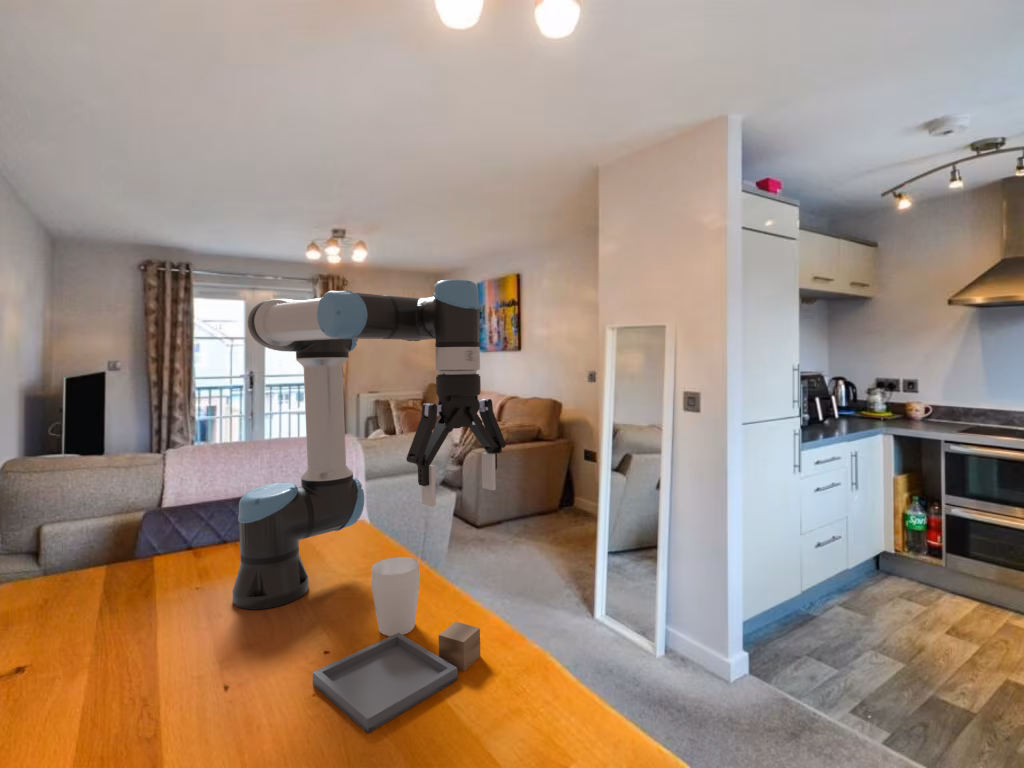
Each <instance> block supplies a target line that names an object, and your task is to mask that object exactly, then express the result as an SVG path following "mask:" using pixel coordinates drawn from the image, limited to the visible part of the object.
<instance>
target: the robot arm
mask: <svg viewBox="0 0 1024 768" xmlns="http://www.w3.org/2000/svg"><path fill="white" fill-rule="evenodd" d="M433 288H434V289H433V294H432V295H433V296H429V297H428V296H427V297H409V296H399V295H397V296H396V295H389V294H388V295H385V294H383V295H382V294H374V293H366V292H365V293H363V292H355V291H351V290H330V291H327V292H325V293H324V294H323V296H322V297H320V298H319V297H318V298H312V299H303V300H302V299H299V300H298V299H289V298H273V299H267V300H263V301H261V302H259V303H257V304H256V305H255V306H254V307H253V308H252V309H251V310H250V312H249V315H248V317H247V328H248V331H249V333H250V335H251V337H252V338H253V340H254V341H256V342H257V343H258V344H259V345H260V346H263V347H264V348H267V349H270V350H273V351H277V352H295V358H296V359H295V360H296V362H298V363H299V365H301V366H302V368H303V381H304V382H303V383H304V384H303V385H304V406H305V407H304V408H305V432H306V434H305V435H306V454H307V455H306V458H307V470H306V471H304V473H302V475H301V477H300V478H301V479H300V481H301V482H300V483H301V485H300V486H297V484H296V483H295V482H294V483H293V482H291V481H290V482H289V481H285V482H284V481H283V482H282V481H281V482H278V483H276V482H275V483H270V484H266V485H262V486H259V487H257V488H254V489H252V490H251V489H250V491H248V492H246V493H245V494H243V496H242V497H241V498H240V500H239V503H238V515H237V521H238V527H239V549H240V550H239V551H240V565H239V568H238V572H237V575H236V578H235V581H234V586H233V587H232V603H233V605H234V606H236V607H237V608H240V609H245V610H263V609H270V608H276V607H279V606H283V605H287V604H289V603H292V602H293V601H294V602H295V601H296V600H298V599H300V598H302V597H303V596H304V595H306V593H307V592H308V590H309V589H310V585H309V582H310V581H309V576H308V574H307V570H306V569H305V566H304V563H303V560H302V558H301V556H300V540H305V539H308V538H312V537H316V536H319V535H324V534H327V533H330V532H339V531H341V530H343V529H345V528H348V527H351V526H354V525H355V524H356V523H357V522H358V521H359V519H360V518H361V516H362V514H363V511H364V507H365V491H364V489H363V488H362V482H361V481H360V480H359V479H358V478H357V477H354V471H353V470H351V469H350V468H349V467H348V466H347V455H346V453H347V452H346V430H345V429H346V428H345V427H346V426H345V425H346V424H345V403H344V402H345V401H344V373H343V366H344V365H345V363H347V361H349V357H350V356H349V353H351V352H353V351H354V350H355V348H356V347H357V342H358V340H359V339H360V340H365V339H366V340H367V339H368V340H369V339H370V340H371V339H372V340H373V339H375V340H380V339H381V340H398V341H399V340H402V341H406V342H413V341H414V342H419V341H420V342H421V341H424V340H426V341H427V340H435V344H434V348H435V371H436V372H438V374H437V375H436V376H435V385H436V386H435V388H436V389H435V391H436V395H437V397H438V403H437V404H436V403H423V404H422V407H421V416H420V421H419V423H418V425H417V429H416V431H415V434H414V437H413V439H412V442H411V445H410V448H409V450H408V452H407V455H406V458H405V459H406V462H408V463H411V464H414V465H416V466H417V483H418V485H419V486H421V504H422V505H425V506H428V507H436V506H437V499H436V497H437V496H436V495H437V493H436V492H437V491H436V490H437V489H436V465H434V464H432V462H433V461H434V459H435V458H436V456H437V454H438V452H439V450H440V449H441V447H442V446H443V443H444V442H445V440H446V439H447V437H448V435H449V434H450V433H451V432H453V430H454V429H461V428H463V427H464V428H469V430H470V431H471V432H472V434H473V435H474V437H475V438H476V439H477V441H478V442H479V443H480V445H481V446H482V448H483V450H484V452H481V484H482V485H481V489H485V490H490V491H495V490H497V489H496V488H497V487H496V486H497V483H496V470H498V454H501V453H502V450H503V449H504V448H505V447H506V446H507V445H506V440H505V439H504V436H503V433H502V430H501V428H500V425H499V422H498V420H497V418H496V415H495V413H494V407H493V400H492V399H491V398H479V396H480V395H481V393H482V392H481V389H482V388H481V375H480V374H479V373H478V372H477V371H480V369H481V348H480V347H481V346H480V344H481V343H480V340H481V339H480V335H481V334H480V332H481V331H480V309H481V304H480V295H479V288H478V285H477V284H476V283H475V282H474V281H472V280H467V279H443V280H439V281H437V282H436V283H435V284H434V286H433ZM478 413H479V415H478ZM438 416H439V417H438ZM437 417H438V419H437Z"/></svg>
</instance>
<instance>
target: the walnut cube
mask: <svg viewBox="0 0 1024 768" xmlns="http://www.w3.org/2000/svg"><path fill="white" fill-rule="evenodd" d="M438 657H440V658H442V659H443V660H445V661H447V662H448V663H450V664H452V665H453V666H455V667H457V671H461V672H463V673H464V672H466V671H467V669H469V668H470V667H471V666H472V665H473V664H474V663H475V662H476V661H477V660H478V659H479V658H480V657H481V628H480V627H477V626H473V625H469V624H465V623H462V622H460V621H454V622H453V623H452V624H450V625H449V626H448V627H446V629H444V630H443V631H441V632H440V633H439V634H438Z"/></svg>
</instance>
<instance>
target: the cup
mask: <svg viewBox="0 0 1024 768" xmlns="http://www.w3.org/2000/svg"><path fill="white" fill-rule="evenodd" d="M370 581H371V582H370V585H371V586H370V587H371V590H372V598H373V603H374V609H375V614H376V621H377V626H378V630H379V632H380V634H382V635H384V636H387V637H390V636H392V635H395V634H397V633H400V634H402V635H404V636H405V635H406V634H408V633H410V632H411V631H412V630H413V629H414V628H415V625H416V618H417V609H418V600H419V591H420V582H421V575H420V564H419V561H418V560H416V559H415V558H413V557H412V558H411V557H406V556H405V557H404V556H396V557H395V556H394V557H388V558H385V559H382V560H379V561H376V563H373V565H372V566H371V580H370Z"/></svg>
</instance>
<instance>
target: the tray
mask: <svg viewBox="0 0 1024 768" xmlns="http://www.w3.org/2000/svg"><path fill="white" fill-rule="evenodd" d="M456 681H458V670H457V667H455V666H453V665H452V664H450V663H448V662H447V661H445V660H443V659H442V658H440V657H439V655H437V654H435V653H434V652H432V651H430V650H428V649H427V648H425V647H423V646H421V644H418V643H417V642H415V641H413V640H412V639H410V638H408V637H407V636H405V634H404V635H402V634H400V633H397V634H395V635H392V636H387V637H386V638H384V639H382V640H379V641H378V642H375V643H373V644H370V645H369V646H367V647H364V648H362V649H360V650H358V651H356V652H354V653H352V654H349V655H347V656H345V657H343V658H341V659H338V660H336V661H334V662H331V663H330V664H328V665H325V666H324V667H321V668H319V669H317V670H315V671H313V672H312V685H313V686H314V687H315V688H316V689H318V691H320V693H322V694H323V695H324V696H325V697H326V698H327V699H328V700H330V701H331V702H332V703H333V704H334V705H335V706H336V707H337V708H338V709H339V710H341V712H343V713H344V714H345V715H346V716H347V717H349V718H350V720H352V721H353V722H354V723H355V724H357V726H359V727H360V728H361V729H362V730H363V731H364V732H365V733H366V734H369V733H372V732H374V731H375V730H376V729H378V728H380V727H381V726H383V725H385V724H386V723H388V722H390V721H392V720H393V719H395V718H397V717H398V716H400V715H401V714H403V713H405V712H406V711H408V710H410V709H411V708H413V707H415V706H417V705H418V704H420V703H421V702H423V701H425V700H427V699H428V698H430V697H432V696H433V695H436V693H438V692H440V691H442V690H444V689H446V687H448V686H450V685H452V684H453V683H454V682H456Z"/></svg>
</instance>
